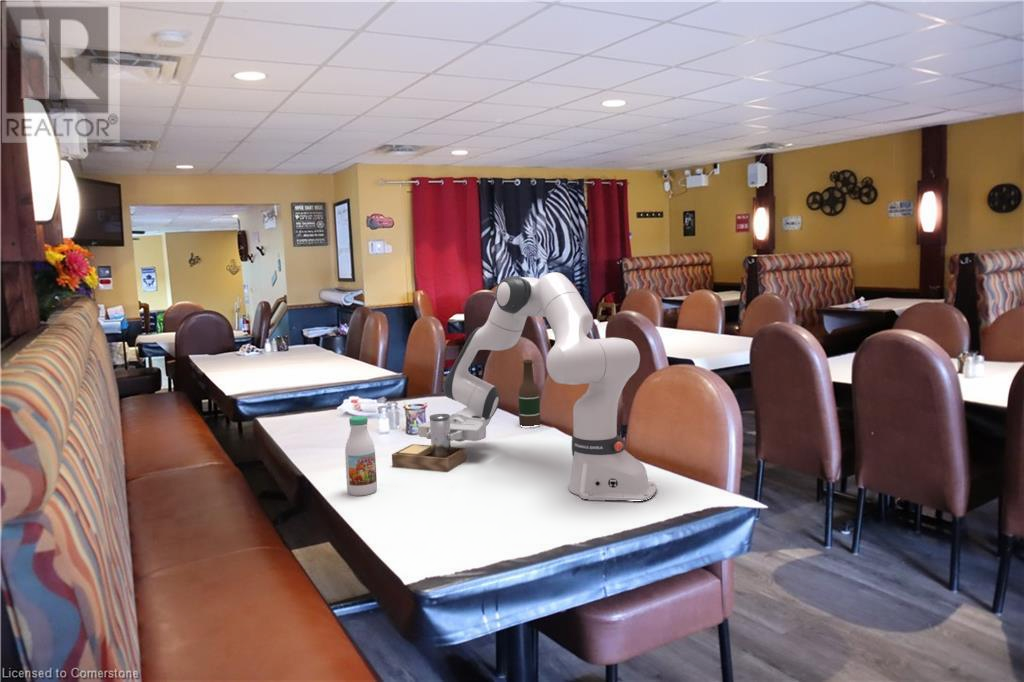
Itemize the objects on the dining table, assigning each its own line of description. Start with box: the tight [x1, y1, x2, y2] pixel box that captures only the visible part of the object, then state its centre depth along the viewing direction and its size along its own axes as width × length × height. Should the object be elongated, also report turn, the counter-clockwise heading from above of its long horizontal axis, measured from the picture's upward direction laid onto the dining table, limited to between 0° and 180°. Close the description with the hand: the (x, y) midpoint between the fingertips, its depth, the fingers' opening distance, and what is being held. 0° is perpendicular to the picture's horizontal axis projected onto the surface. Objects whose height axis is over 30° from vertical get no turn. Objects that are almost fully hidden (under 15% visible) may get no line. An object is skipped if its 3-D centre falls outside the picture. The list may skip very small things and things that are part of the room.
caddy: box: [391, 443, 467, 473], centre depth 210 cm, size 18×12×4 cm, turn 68°
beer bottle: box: [517, 359, 541, 426], centre depth 256 cm, size 8×8×24 cm
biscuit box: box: [399, 444, 432, 456], centre depth 211 cm, size 6×9×4 cm, turn 158°
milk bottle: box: [344, 415, 378, 497], centre depth 187 cm, size 8×8×20 cm
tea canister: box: [429, 413, 452, 458], centre depth 208 cm, size 6×6×13 cm
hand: (439, 437), depth 207 cm, fingers closed on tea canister, 5 cm apart
